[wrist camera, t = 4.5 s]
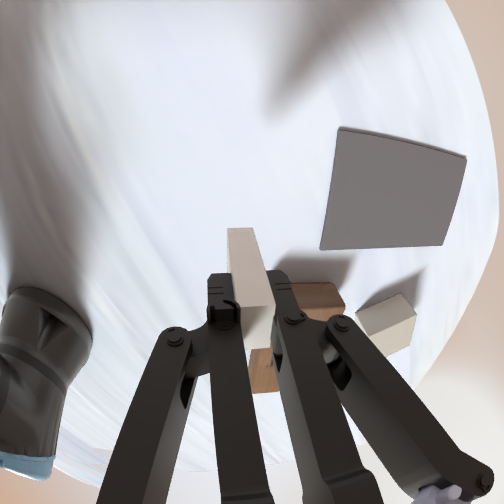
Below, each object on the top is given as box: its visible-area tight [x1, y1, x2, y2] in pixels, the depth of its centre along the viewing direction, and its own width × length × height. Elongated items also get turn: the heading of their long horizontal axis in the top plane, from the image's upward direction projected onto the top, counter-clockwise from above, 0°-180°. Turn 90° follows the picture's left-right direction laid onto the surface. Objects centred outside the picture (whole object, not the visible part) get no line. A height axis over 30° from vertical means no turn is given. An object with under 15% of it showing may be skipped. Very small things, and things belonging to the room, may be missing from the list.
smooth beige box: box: [355, 293, 417, 357], centre depth 37 cm, size 8×8×5 cm
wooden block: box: [248, 283, 345, 394], centre depth 35 cm, size 9×4×18 cm
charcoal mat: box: [319, 130, 467, 250], centre depth 28 cm, size 20×13×1 cm, turn 87°
